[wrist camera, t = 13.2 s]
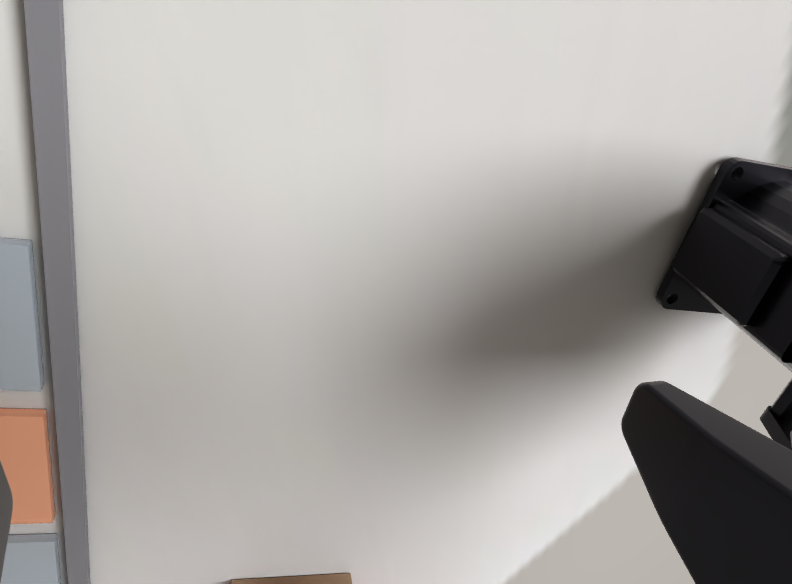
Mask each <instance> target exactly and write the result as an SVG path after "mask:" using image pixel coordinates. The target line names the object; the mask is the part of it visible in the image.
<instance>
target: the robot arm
mask: <svg viewBox="0 0 792 584" xmlns="http://www.w3.org/2000/svg"><path fill="white" fill-rule="evenodd" d="M735 169H736V171H735V172H734V174H733V175H731V174H732V172H733V171H734V170H735ZM671 294H672V295H671ZM670 295H671V296H670ZM669 296H670V297H669ZM668 297H669V298H668ZM656 301H657V302H658V303H659V304H660V305H661V306H662V307H663V308H666V309H674V310H685V311H697V312H709V313H720V314H724V315H725V316H726V317H727V318H728V319H730V320H731V321H732V322H733V323H734V324H736V325H737V326H738V327H739V328H740V329H741V330H743V331H744V332H745V333H746V334H747V335H749V336H750V337H751V338H752V339H753V340H755V341H756V342H757V343H758V344H759V345H760V346H762V347H763V348H764V349H765V350H767V351H768V352H769V353H770V354H771V355H772V356H774V357H775V358H776V359H777V360H779V362H781V363H782V364H783V365H784V366H785V367H787V368H788V369H789V370H790V371H791V372H792V167H786V166H781V165H775V164H770V163H764V162H759V161H753V160H748V159H742V158H737V157H735V158H730V159H728V160H726V161H725V162H724V163H723V164H722V165H721V167H720V168H719V170H718V172H717V174H716V176H715V178H714V180H713V182H712V184H711V186H710V188H709V190H708V192H707V194H706V196H705V198H704V200H703V202H702V204H701V206H700V208H699V210H698V212H697V214H696V216H695V218H694V220H693V222H692V224H691V226H690V228H689V230H688V232H687V234H686V236H685V238H684V240H683V242H682V244H681V246H680V248H679V250H678V252H677V254H676V256H675V258H674V260H673V262H672V264H671V266H670V268H669V270H668V272H667V274H666V276H665V278H664V280H663V282H662V284H661V286H660V288H659V290H658V292H657V294H656ZM760 420H761V422H762V423H763V425H764V426H765V428H766V430H767V431H768V433H769V434H770V436H771V438H772V439H773V440H772V439H770V438H768V437H766V436H764V435H762V434H761V433H759V432H757V431H755V430H753V429H751V428H750V427H747V426H746V425H744V424H742V423H740V422H739V421H737V420H735V419H733V418H731V417H729V416H728V415H726V414H724V413H722V412H720V411H718V410H717V409H715V408H713V407H711V406H709V405H708V404H706V403H704V402H702V401H700V400H699V399H697V398H695V397H693V396H691V395H689V394H688V393H686V392H684V391H682V390H680V389H678V388H677V387H675V386H673V385H671V384H669V383H667V382H664V381H655V382H645V383H641V384H639V385H638V386H637V387H636V388H635V390H634V392H633V395H632V397H631V399H630V402H629V404H628V406H627V409H626V411H625V413H624V415H623V418H622V423H621V425H622V432H623V435H624V438H625V440H626V442H627V445H628V447H629V449H630V452H631V454H632V456H633V458H634V461H635V463H636V465H637V468H638V470H639V472H640V475H641V477H642V479H643V481H644V484H645V486H646V488H647V491H648V493H649V495H650V497H651V500H652V502H653V504H654V507H655V508H656V511H657V513H658V515H659V517H660V519H661V521H662V523H663V525H664V527H665V529H666V531H667V533H668V535H669V537H670V538H671V540H672V542H673V544H674V546H675V547H676V549H677V551H678V553H679V555H680V556H681V558H682V560H683V561H684V564H685V565H686V567H687V569H688V570H689V573H690V575H691V576H692V578H693V580H694V582H695V584H792V379H791V381H790V382H789V383H788V385H787V386H786V387H785V389H784V390H783V391H782V393H781V394H780V395H779V397H778V398H777V400H776V401H775V402H774V404H773V405H772V406H768V407H767V409H766V410H765V411H764V413H763V414H762V416H761V417H760ZM12 511H13V496H12V491H11V488H10V486H9V483H8V480H7V477H6V475H5V472H4V469H3V466H2V464H1V461H0V583H1V577H2V571H3V565H4V559H5V553H6V547H7V542H8V536H9V530H10V524H11V518H12Z"/></svg>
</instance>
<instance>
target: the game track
mask: <svg viewBox="0 0 792 584" xmlns="http://www.w3.org/2000/svg"><path fill="white" fill-rule="evenodd" d="M24 12H25V25H26V39H27V52H28V65H29V78H30V91H31V104H32V117H33V130H34V143H35V157H36V170H37V183H38V196H39V209H40V222H41V235H42V248H43V261H44V274H45V288H46V301H47V314H48V327H49V340H50V353H51V366H52V379H53V392H54V406H55V419H56V432H57V445H58V458H59V471H60V484H61V497H62V510H63V524H64V537H65V550H66V563H67V576H68V584H90V568H89V546H88V525H87V504H86V483H85V462H84V441H83V419H82V398H81V377H80V356H79V335H78V314H77V293H76V271H75V250H74V229H73V208H72V187H71V166H70V144H69V123H68V102H67V81H66V60H65V39H64V18H63V0H24ZM43 385H44V379H43V367H42V356H41V344H40V332H39V321H38V309H37V297H36V286H35V274H34V262H33V250H32V240H23V239H12V238H1V237H0V390H6V391H41V390H42V387H43ZM0 461H1V464H2V466H3V469H4V472H5V475H6V477H7V480H8V483H9V486H10V488H11V491H12V496H13V511H12V518H11V524H27V523H53V520H54V517H55V508H54V496H53V484H52V473H51V461H50V449H49V438H48V426H47V414H46V409H5V408H0ZM0 584H61V578H60V566H59V554H58V543H57V534H29V535H9V536H8V542H7V547H6V553H5V559H4V565H3V571H2V577H1V583H0Z"/></svg>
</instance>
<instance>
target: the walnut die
mask: <svg viewBox="0 0 792 584" xmlns="http://www.w3.org/2000/svg"><path fill="white" fill-rule="evenodd" d="M231 584H352V580H351V574H350V573H343V574H325V575H308V576H290V577H273V578H255V579H238V580H231Z"/></svg>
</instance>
